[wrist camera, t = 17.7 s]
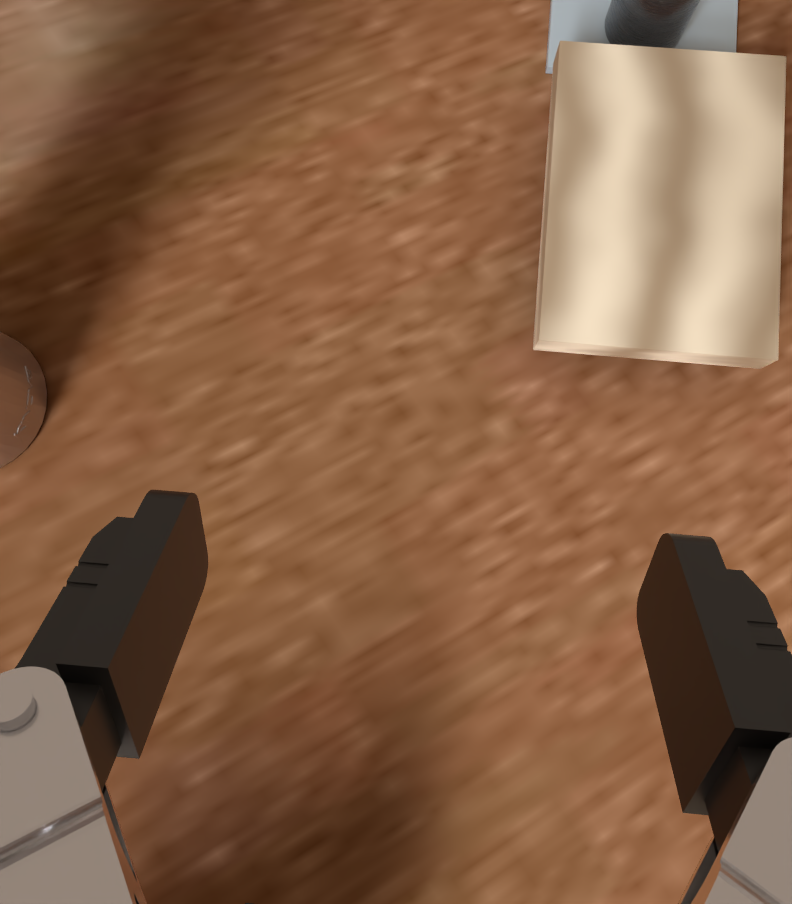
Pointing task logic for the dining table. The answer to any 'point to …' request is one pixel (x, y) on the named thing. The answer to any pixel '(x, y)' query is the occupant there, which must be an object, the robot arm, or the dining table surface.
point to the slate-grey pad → (583, 20)
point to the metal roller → (648, 22)
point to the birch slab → (663, 205)
